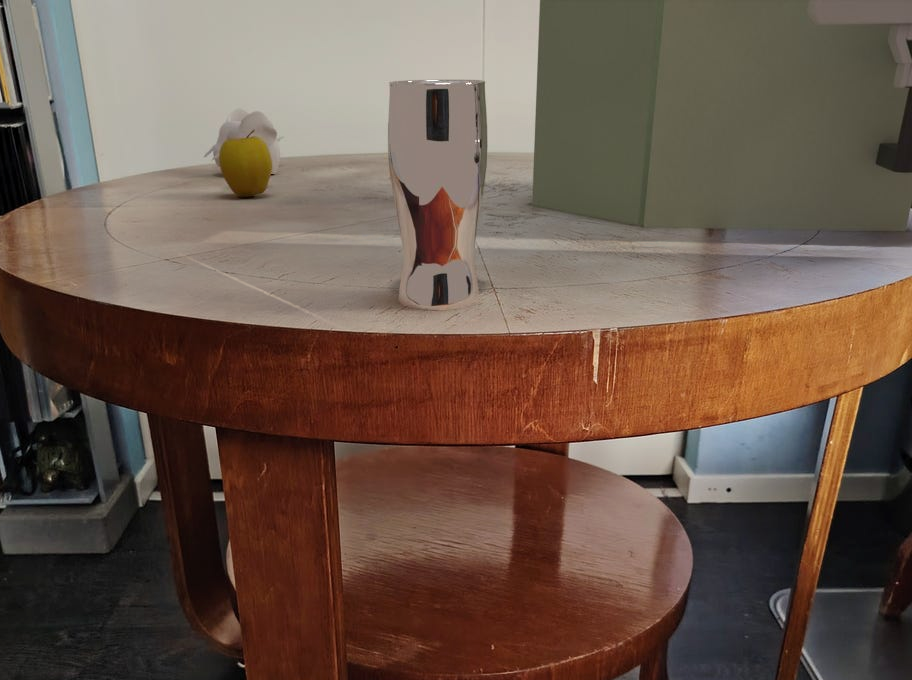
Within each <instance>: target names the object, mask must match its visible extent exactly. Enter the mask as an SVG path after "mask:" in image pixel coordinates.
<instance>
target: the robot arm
mask: <svg viewBox="0 0 912 680" xmlns="http://www.w3.org/2000/svg"><path fill="white" fill-rule="evenodd" d="M807 15H808V17H809V18H810V20H811V21H812V23H813V24H814V25H860V24H891V25H890V30H889V35H888V43H889V46H890V48H891V51H892V54H893V57H894V59H895V62H896V63H898V64H897V69H896V74H895V79H894V87H895V88H912V58H911V55H910V52H909V49H908V46H907V42H906V40H912V0H808V5H807Z"/></svg>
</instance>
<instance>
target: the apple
mask: <svg viewBox="0 0 912 680" xmlns="http://www.w3.org/2000/svg"><path fill="white" fill-rule="evenodd" d="M253 132H254V130H253V131H252V132H251V133H250V134H249V135H248V136H247V137H246V138H241V139H233V138H231V139H228V140H226V141H225V142H224V143H223V144H222V146H221V148H220V153H219V163H220V167H219V168H220V171H221V174H222V176H223V179H224V180H225V182H226V184H227V186H228V187H229V188H230V190H231V191H232V192H233V193H234V194H235V195H236V196H237V197H238V198H246V197H254V196H255V195H260V194H263V193H264V192H266V190H267V188H268V185H269V183H270V182H269V181H270V178H271V176H272V175H271V172H272V160H271V156H270V153H269V150H268V147H267V145H266V144H265V142H264V141H263V140H262V139H260V138H259V137H255V136H253V137H250V138H249V136H250V135H251V134H252V133H253Z"/></svg>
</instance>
